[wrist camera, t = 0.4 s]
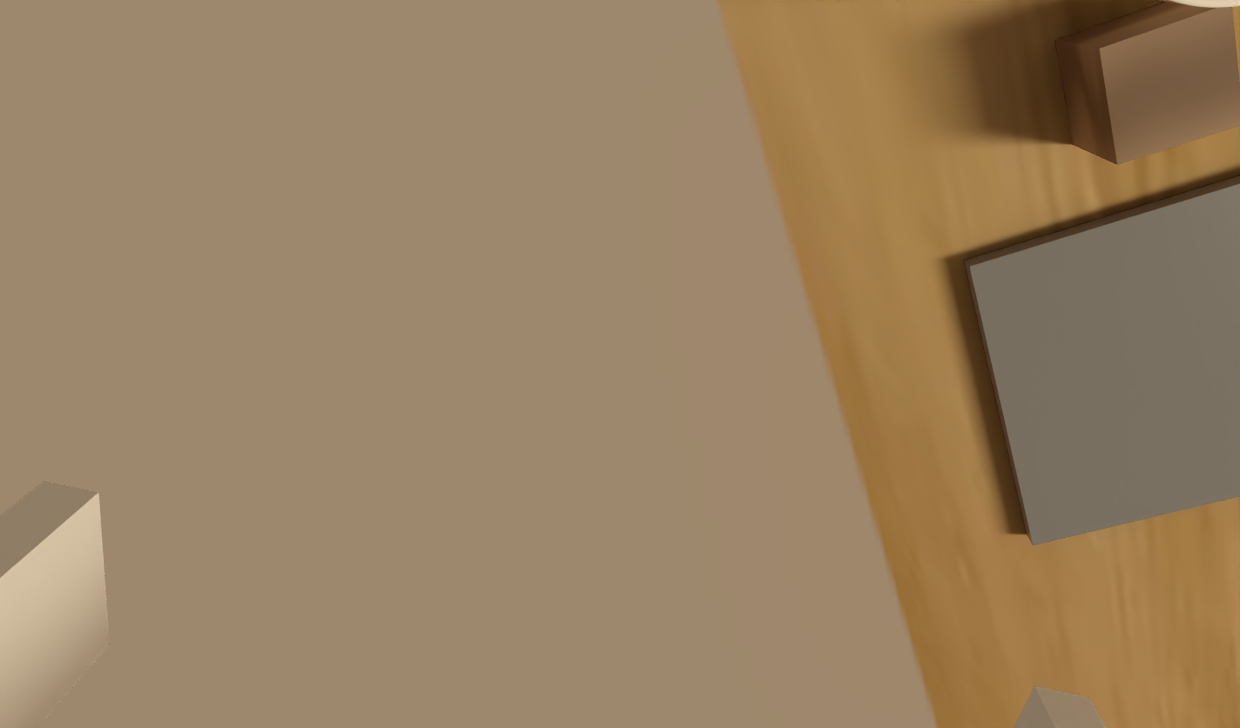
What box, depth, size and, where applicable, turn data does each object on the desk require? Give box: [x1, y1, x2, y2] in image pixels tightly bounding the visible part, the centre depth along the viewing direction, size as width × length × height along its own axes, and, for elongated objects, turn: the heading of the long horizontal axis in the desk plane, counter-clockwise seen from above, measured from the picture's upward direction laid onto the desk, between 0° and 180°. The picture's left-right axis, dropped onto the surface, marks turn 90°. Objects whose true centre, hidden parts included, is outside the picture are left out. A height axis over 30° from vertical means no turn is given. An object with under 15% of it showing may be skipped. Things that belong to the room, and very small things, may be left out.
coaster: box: [964, 176, 1240, 545], centre depth 36 cm, size 14×14×1 cm
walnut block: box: [1055, 2, 1240, 165], centre depth 31 cm, size 4×4×4 cm
